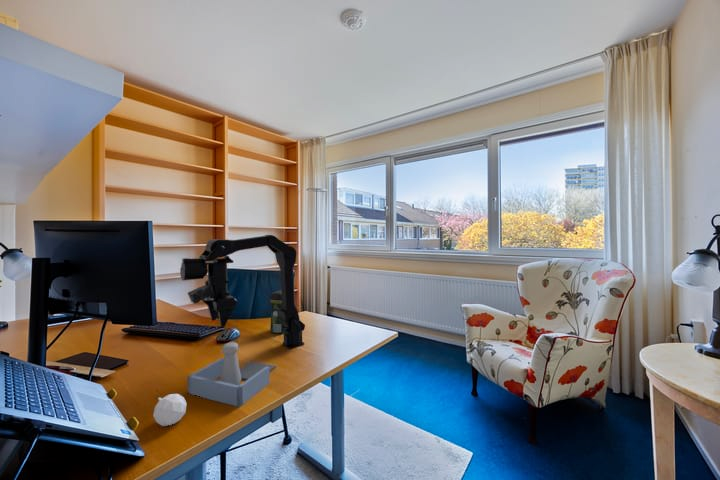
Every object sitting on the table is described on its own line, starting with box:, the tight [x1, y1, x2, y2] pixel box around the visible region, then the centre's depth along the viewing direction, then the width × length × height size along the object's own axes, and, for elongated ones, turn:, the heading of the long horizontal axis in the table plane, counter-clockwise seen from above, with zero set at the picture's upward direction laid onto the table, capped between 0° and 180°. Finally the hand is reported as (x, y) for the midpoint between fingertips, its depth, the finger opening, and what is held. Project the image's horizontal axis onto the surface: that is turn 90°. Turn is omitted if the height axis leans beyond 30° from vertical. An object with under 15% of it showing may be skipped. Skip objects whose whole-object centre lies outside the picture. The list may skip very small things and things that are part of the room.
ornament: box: [152, 393, 188, 427], centre depth 70 cm, size 6×7×7 cm
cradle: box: [187, 357, 270, 408], centre depth 85 cm, size 12×18×5 cm
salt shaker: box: [219, 341, 242, 385], centre depth 85 cm, size 6×6×13 cm
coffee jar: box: [269, 289, 286, 334], centre depth 133 cm, size 10×8×19 cm
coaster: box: [239, 360, 277, 381], centre depth 95 cm, size 10×10×1 cm
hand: (218, 323), depth 97 cm, fingers open, 9 cm apart
